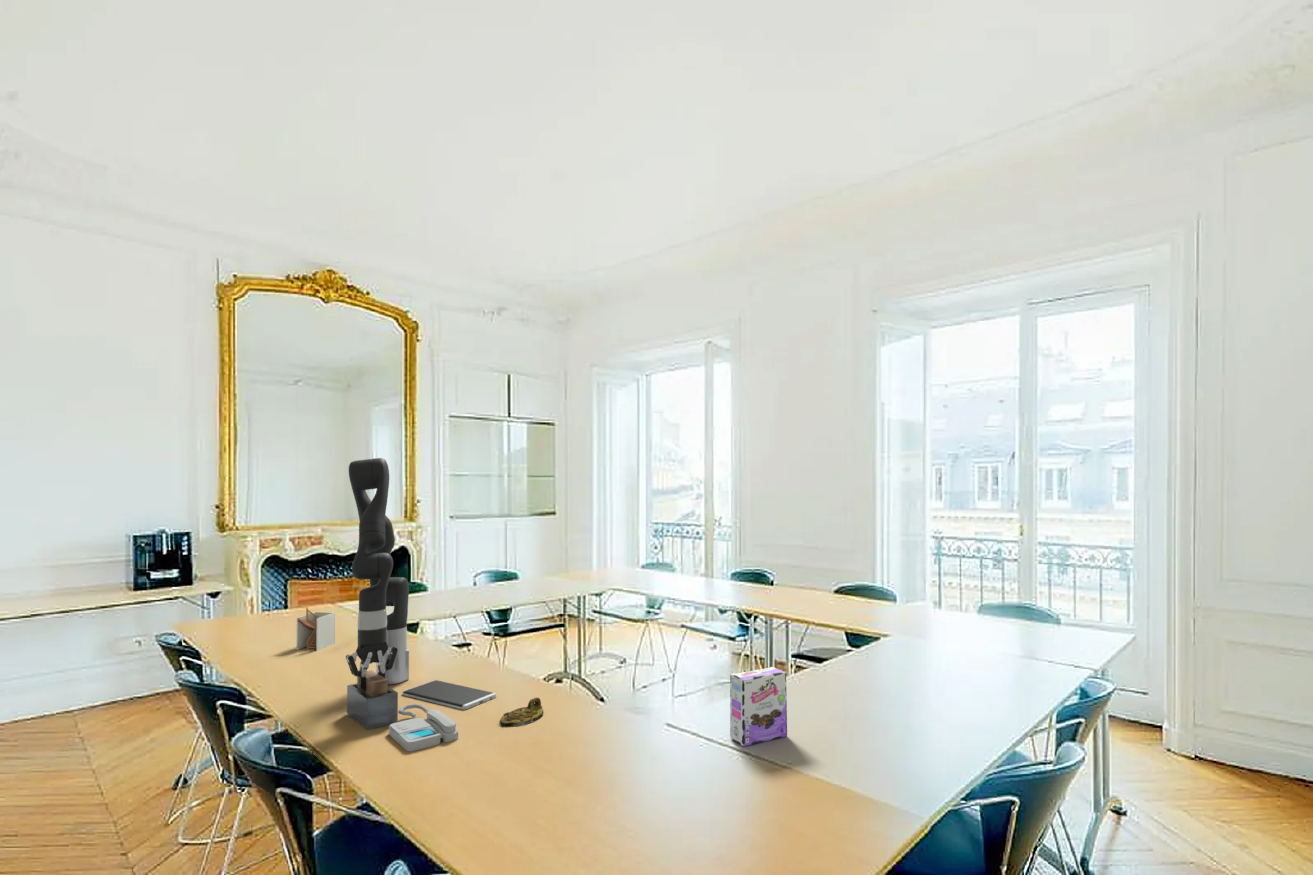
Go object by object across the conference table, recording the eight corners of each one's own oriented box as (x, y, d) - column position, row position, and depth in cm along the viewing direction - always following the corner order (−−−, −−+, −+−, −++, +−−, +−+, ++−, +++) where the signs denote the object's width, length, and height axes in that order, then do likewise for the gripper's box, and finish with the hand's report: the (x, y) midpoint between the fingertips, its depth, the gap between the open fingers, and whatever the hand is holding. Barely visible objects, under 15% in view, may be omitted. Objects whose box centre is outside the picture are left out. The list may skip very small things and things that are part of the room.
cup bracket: (375, 707, 201) (376, 679, 201) (397, 722, 189) (397, 692, 190) (347, 714, 196) (347, 685, 196) (367, 730, 184) (367, 699, 184)
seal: (515, 735, 183) (552, 716, 196) (516, 717, 183) (553, 700, 196) (489, 724, 188) (527, 707, 201) (491, 707, 188) (529, 691, 201)
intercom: (424, 697, 197) (459, 722, 178) (424, 713, 197) (459, 739, 178) (376, 707, 189) (407, 735, 170) (376, 724, 189) (407, 753, 169)
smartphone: (464, 712, 198) (464, 706, 198) (400, 696, 212) (400, 690, 212) (497, 698, 210) (497, 692, 210) (435, 684, 223) (435, 679, 223)
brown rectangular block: (371, 688, 199) (371, 670, 199) (387, 698, 190) (387, 679, 190) (357, 691, 196) (357, 673, 196) (372, 701, 187) (372, 683, 187)
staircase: (296, 651, 265) (296, 607, 266) (314, 643, 276) (315, 601, 277) (316, 652, 264) (317, 607, 265) (334, 644, 275) (335, 602, 275)
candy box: (743, 747, 170) (742, 679, 171) (729, 739, 176) (728, 673, 176) (788, 736, 177) (787, 671, 178) (774, 729, 182) (773, 665, 183)
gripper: (392, 619, 201) (392, 679, 200) (341, 627, 192) (340, 690, 191) (403, 623, 195) (402, 685, 195) (350, 632, 186) (349, 697, 185)
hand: (371, 687), depth 193 cm, fingers closed on brown rectangular block, 4 cm apart
